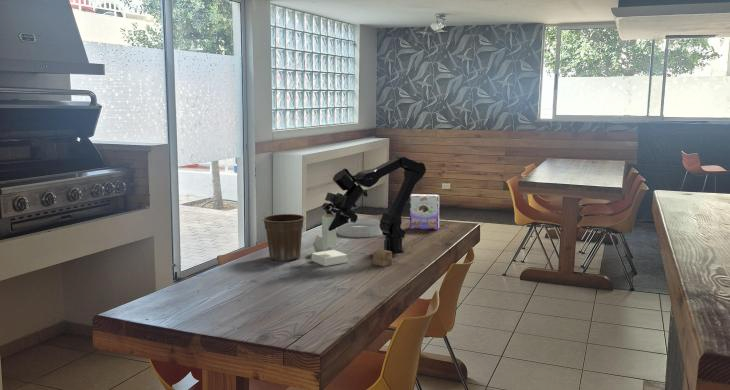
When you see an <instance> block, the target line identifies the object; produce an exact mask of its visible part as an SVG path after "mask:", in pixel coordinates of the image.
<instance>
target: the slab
mask: <svg viewBox="0 0 730 390" xmlns="http://www.w3.org/2000/svg"><path fill="white" fill-rule="evenodd" d="M311 261H312V262H314V263H316V264H319V265H321V266H323V267H327V266H328V267H329V266H333V265H339V264H345V263H348V254H346V253H344V252H341V251H338V250H336V249H332V250H329V251H322V252H316V251H315V252H311Z"/></svg>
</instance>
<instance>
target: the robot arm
mask: <svg viewBox="0 0 730 390" xmlns="http://www.w3.org/2000/svg"><path fill="white" fill-rule="evenodd" d="M398 169H402V170H404V171H403V176H404V177H403V178H404V179H403V182H402V183H401V185H400V188H399V191H398V193H397V195H396V197H395V199H394V202H393V204H392V207H391V209H390V210H389V211H388V212H383V214H382V216H381V218H380V219H379V220H380V221H379V222H380V225H379V227H380V229H381V231H382V233H383V234H382V236H384V241H383V249H382V250H387V251H392V254H396V253H403V252H404V249H403V239H404V238H405V236H406V232H405V230H404V229H403V228H402V227H401V226H402V223H403V222H402V215H403V212H404V210H405V209H406V206H407V203H408V202H409V200H410V195H411V194H413V193H412V192H413V189H414V188H415V186H416V184H417V183H419V182H420V181H421V180H422V179H423V177H424V176H425V174H426V171H427V168H426V165H425V164H424V163H423V162H419V161H415V160H413V159H410V158H408V157H407V156H403V155H397V156H395V157H394V158H392V159H390V160H387V161H386V162H383V163H382V164H380V165H378V166H377V167H374V168H370V169H364V170H361V171H359V172H357V173H356V174H355V175H352V173H351V172H350V171H349V170H348V168H343V169H342V170H340V171H338V172H336V173H335V174H334V176H333V177H332V180H333V182H334V183H335V184H336V185H337V186H338V187H339V189H341V191H345V192H344V194H342V193H339V192H337V193H336V194H335V193H332V192H326V193H327V194H326V196H325V198H324V201H326V202H323V204H322V205H321V208H322V209H323V210H324V212H326V214H333V215H335V216H336V217H335V219H334V220H333V222H332V223H331V225H330V227H329V229H328V230H329V231H332V230H333V229H335V228H336V229H337V228H338V227H339V226H341V225H344V224H346V223H349V221H348V220H349V219H350V221H351V222H353V223H355V222H356V221H357V220H358V218H359V217H358V216H359V215H357V214H356V213H355V212H354V210H353V208H356V207H357V202H358V201H359V200H360V199H361V197H366V198H367V197H368V195H369V194H368V190H367V189H365V188H372V187H373V186H374V185H376V184H377V183H378V182H379V180H380V179H381V178H384V177H385V176H387V175H389V174H390V173H393V172H394V171H395V172H396V171H397V170H398ZM363 187H364V188H363Z"/></svg>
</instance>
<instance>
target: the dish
mask: <svg viewBox="0 0 730 390" xmlns="http://www.w3.org/2000/svg"><path fill="white" fill-rule="evenodd" d="M380 220H381V219H375V218H367V217H366V218H365V217H364V218H363V217H362V218H361V217H358V220H357V221H356V222H355V223H353V222H351V221H350V219H349V220H348V221H349V223H346V224H344V225H341V226H339V227H337V228H336V234H337V235H338V236H339V235H340V236H344V237H348V238H373V237H378V236H381V235H382V236H383V233H382V231H381V229H380V227H379V225H380V222H379V221H380Z"/></svg>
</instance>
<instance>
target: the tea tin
mask: <svg viewBox="0 0 730 390" xmlns="http://www.w3.org/2000/svg"><path fill="white" fill-rule="evenodd" d="M335 217H336V216H335V215H333V214H327V213H326V214H322V215H321V235H322V246H325V247H327V248H328V247H333V248H334V247H337V241H338V240H337V228H335V229H333V230H332V231H329V230H328V229H329V227H330V225H331V223H332V222H333V220H334V219H335Z"/></svg>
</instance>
